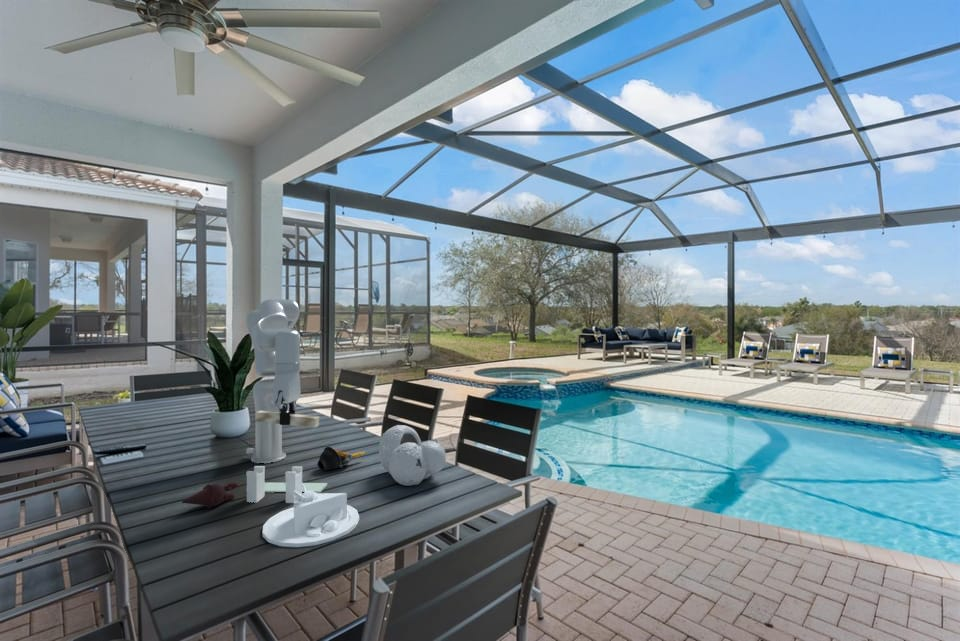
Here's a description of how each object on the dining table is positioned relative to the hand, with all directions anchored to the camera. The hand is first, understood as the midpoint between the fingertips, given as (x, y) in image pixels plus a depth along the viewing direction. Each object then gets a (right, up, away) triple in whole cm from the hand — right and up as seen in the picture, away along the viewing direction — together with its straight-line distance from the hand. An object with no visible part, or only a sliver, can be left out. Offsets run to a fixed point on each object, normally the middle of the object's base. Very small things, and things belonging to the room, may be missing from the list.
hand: (287, 422), depth 151 cm
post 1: (-6, -22, -9) cm, 24 cm away
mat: (0, -22, 0) cm, 22 cm away
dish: (+17, -23, -25) cm, 38 cm away
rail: (0, 0, 0) cm, 0 cm away
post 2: (+6, -22, -9) cm, 24 cm away
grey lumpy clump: (+38, -22, +11) cm, 46 cm away
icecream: (-17, -22, -14) cm, 31 cm away
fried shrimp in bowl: (+11, -22, +22) cm, 33 cm away
